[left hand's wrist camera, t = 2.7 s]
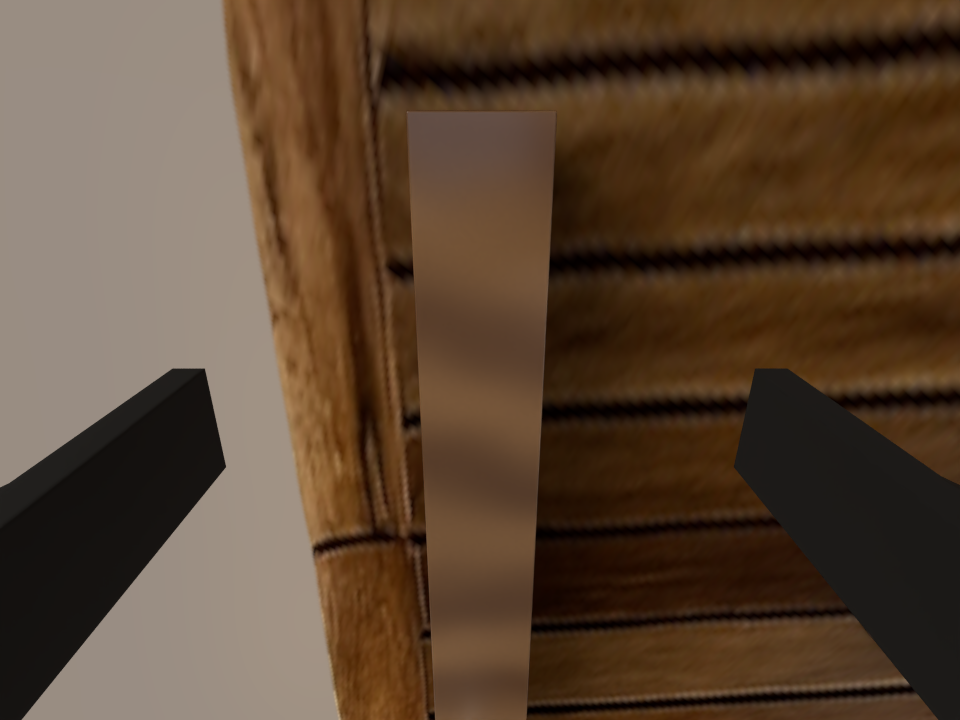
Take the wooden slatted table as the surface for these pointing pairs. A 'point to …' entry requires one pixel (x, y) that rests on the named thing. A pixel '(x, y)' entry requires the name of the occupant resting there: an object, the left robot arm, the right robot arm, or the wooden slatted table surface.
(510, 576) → the bar
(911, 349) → the wooden slatted table surface
